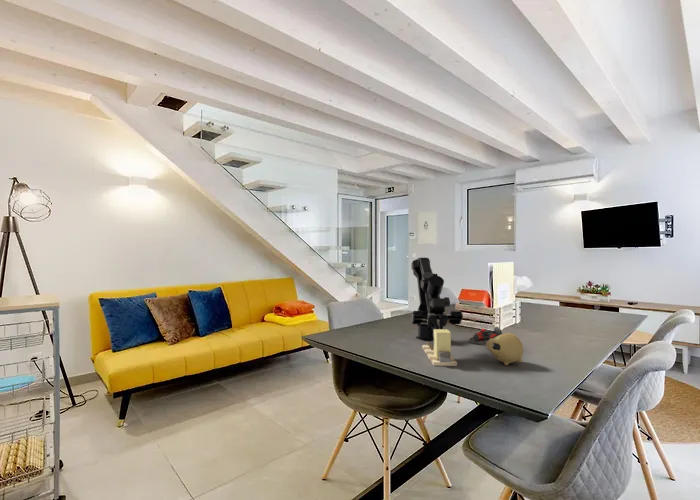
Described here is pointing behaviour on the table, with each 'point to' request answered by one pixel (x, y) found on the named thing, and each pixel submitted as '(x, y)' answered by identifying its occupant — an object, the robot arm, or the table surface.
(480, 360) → the table surface
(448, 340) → the yellow square block
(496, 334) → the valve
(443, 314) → the robot arm
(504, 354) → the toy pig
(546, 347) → the table surface
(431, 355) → the comb board
